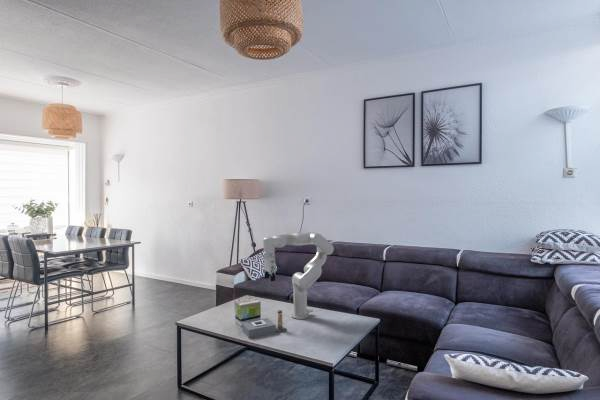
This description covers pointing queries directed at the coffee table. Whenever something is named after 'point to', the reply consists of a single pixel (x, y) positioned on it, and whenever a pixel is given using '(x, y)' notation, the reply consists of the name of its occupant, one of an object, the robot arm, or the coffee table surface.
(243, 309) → the tea box
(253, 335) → the grey socket block
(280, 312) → the stylus
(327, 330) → the coffee table surface
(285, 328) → the coaster
